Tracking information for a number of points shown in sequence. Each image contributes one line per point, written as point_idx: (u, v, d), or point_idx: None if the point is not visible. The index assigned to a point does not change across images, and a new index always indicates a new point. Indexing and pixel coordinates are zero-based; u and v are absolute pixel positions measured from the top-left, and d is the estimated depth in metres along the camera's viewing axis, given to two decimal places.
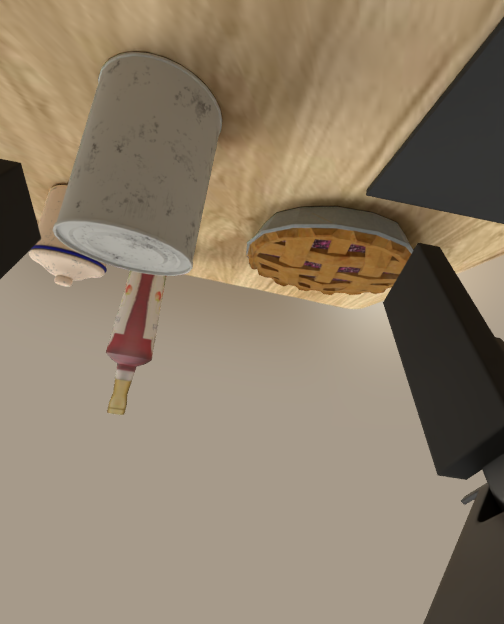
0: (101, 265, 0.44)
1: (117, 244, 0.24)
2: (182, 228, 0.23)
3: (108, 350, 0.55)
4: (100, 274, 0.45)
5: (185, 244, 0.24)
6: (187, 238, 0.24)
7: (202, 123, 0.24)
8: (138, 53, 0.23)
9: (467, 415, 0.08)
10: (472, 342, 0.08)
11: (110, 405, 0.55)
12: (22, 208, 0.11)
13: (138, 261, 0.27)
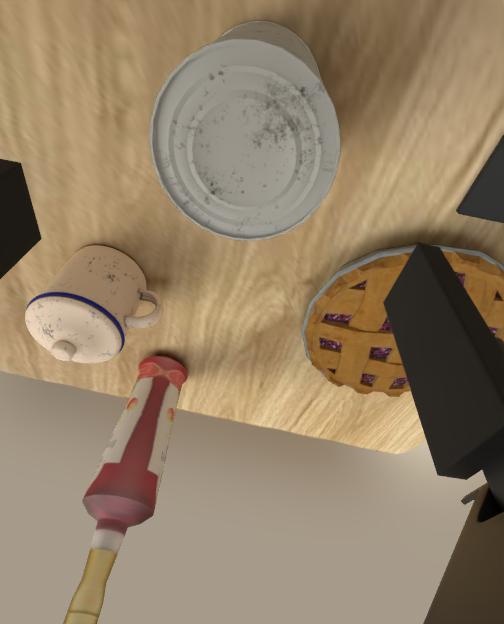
0: (121, 331, 0.33)
1: (236, 139, 0.17)
2: None
3: (89, 492, 0.34)
4: (115, 348, 0.33)
5: None
6: None
7: None
8: None
9: (467, 415, 0.08)
10: (472, 342, 0.08)
11: (73, 606, 0.29)
12: (22, 208, 0.11)
13: (242, 200, 0.19)
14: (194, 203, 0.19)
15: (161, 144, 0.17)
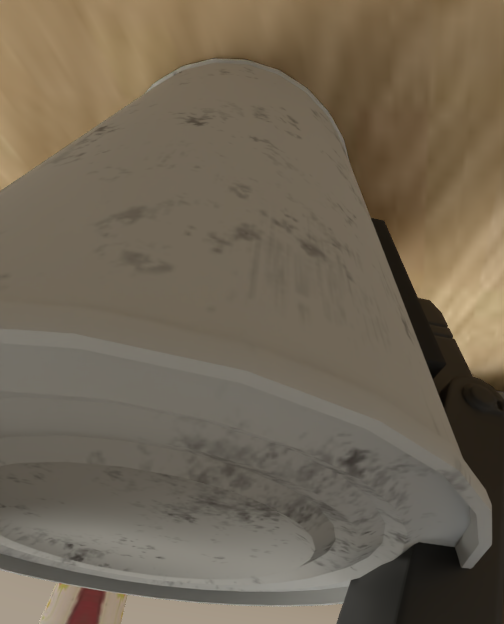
0: None
1: (106, 506, 0.05)
2: None
3: None
4: None
5: None
6: None
7: None
8: None
9: None
10: None
11: None
12: None
13: (163, 565, 0.07)
14: (38, 558, 0.07)
15: None
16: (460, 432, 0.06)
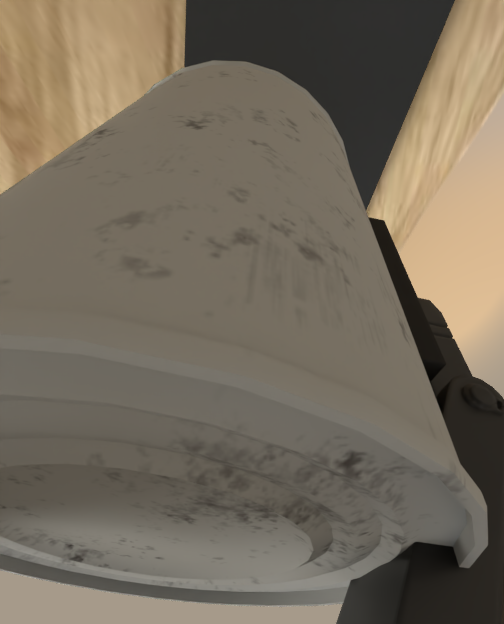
0: None
1: (106, 508, 0.05)
2: None
3: None
4: None
5: None
6: None
7: None
8: (225, 61, 0.11)
9: None
10: None
11: None
12: None
13: (162, 565, 0.07)
14: (38, 559, 0.07)
15: None
16: (460, 432, 0.06)
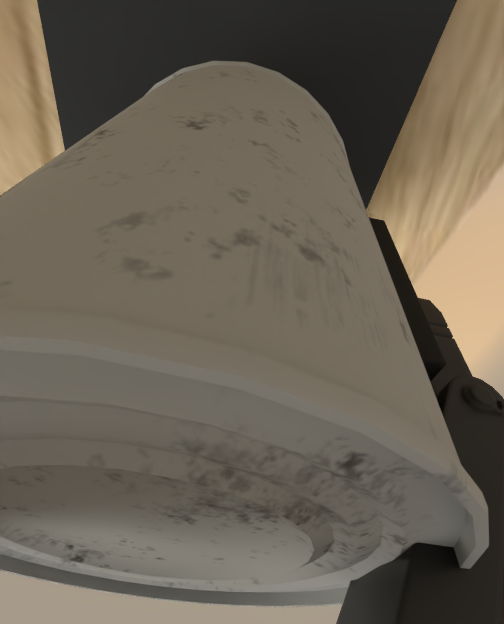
0: None
1: (107, 509, 0.05)
2: None
3: None
4: None
5: None
6: None
7: None
8: (225, 61, 0.11)
9: None
10: None
11: None
12: None
13: (163, 566, 0.07)
14: (38, 559, 0.07)
15: None
16: (460, 432, 0.06)
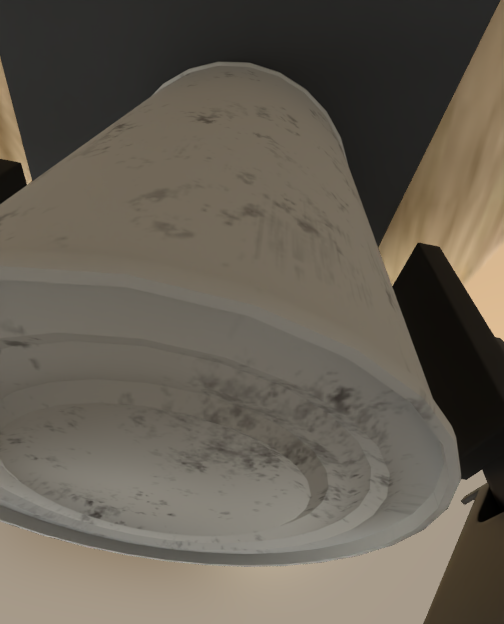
0: None
1: (127, 456, 0.06)
2: None
3: None
4: None
5: None
6: None
7: None
8: (229, 62, 0.12)
9: (467, 415, 0.08)
10: (472, 342, 0.08)
11: None
12: None
13: (173, 523, 0.08)
14: (59, 518, 0.08)
15: None
16: None
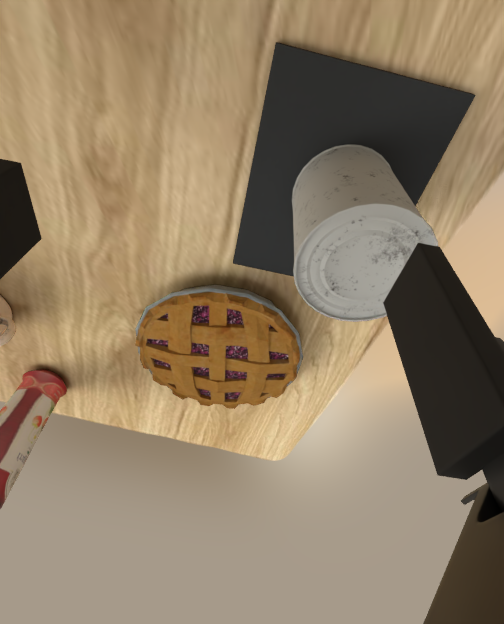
0: None
1: (359, 257, 0.23)
2: None
3: None
4: None
5: None
6: None
7: None
8: None
9: (467, 415, 0.08)
10: (472, 342, 0.08)
11: None
12: (22, 208, 0.11)
13: (353, 294, 0.25)
14: (316, 295, 0.26)
15: (302, 258, 0.24)
16: None
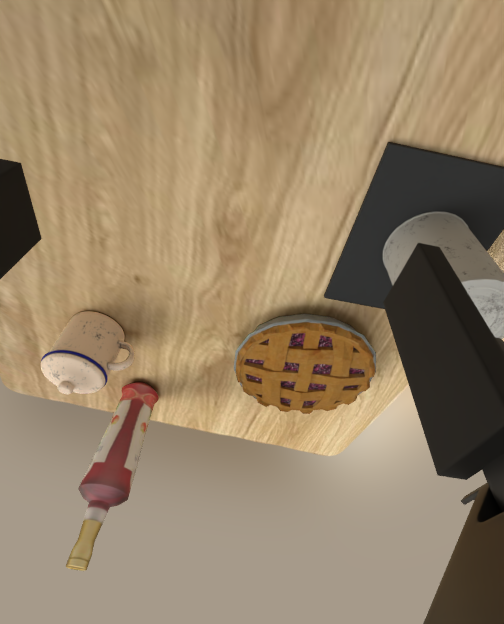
0: (105, 373, 0.49)
1: None
2: None
3: (83, 482, 0.50)
4: (101, 384, 0.49)
5: None
6: None
7: None
8: None
9: (467, 415, 0.08)
10: (472, 342, 0.08)
11: (72, 554, 0.45)
12: (22, 208, 0.11)
13: None
14: None
15: None
16: None
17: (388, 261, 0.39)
